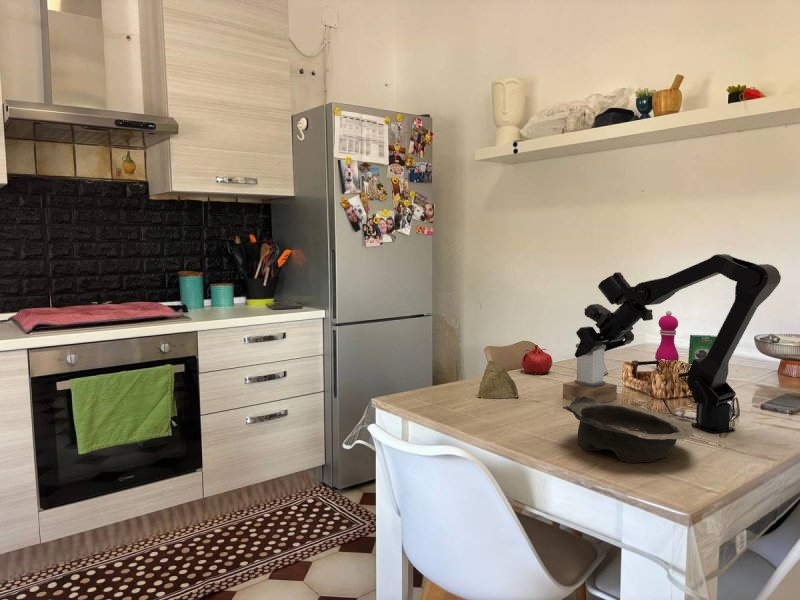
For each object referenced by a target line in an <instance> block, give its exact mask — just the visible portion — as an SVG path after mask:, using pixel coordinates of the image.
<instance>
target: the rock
mask: <svg viewBox="0 0 800 600" xmlns="http://www.w3.org/2000/svg"><path fill="white" fill-rule="evenodd" d="M478 389H479V391H478V393H477V398H478V397H483V399H490V398H491V399H508V398H510V399H511V398H513V399H514V398H519V397H520V396H519V390H518V387H517V385H516V383H515V381H514V380H513V378H512V377H511V375H510V374H509V373H508V372H507V370H506V368H505V367H503V366H502V365H501V364H499V362H497V361H495V360H489V361H488V362H487V365H486V368H485V369H484V373H483V376H482V379H481V381H480V384H479V388H478Z"/></svg>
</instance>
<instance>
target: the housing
mask: <svg viewBox="0 0 800 600" xmlns="http://www.w3.org/2000/svg"><path fill="white" fill-rule="evenodd" d="M578 346H579V343H575V348H576V349H577V348H578ZM604 349H606V345H602V346H601V347H600V348H598V349H597V351H594V352H591V353H589V354H586V355H584V356H581V357H578V358H576V379H575V380H574V381H575V384H579V385H583V386H588V387H592V388H595V387H599V386H603V385H605V383H606V381H605V380H604V376H605V375H604V363H605V352H604Z"/></svg>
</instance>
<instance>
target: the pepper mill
mask: <svg viewBox="0 0 800 600" xmlns="http://www.w3.org/2000/svg"><path fill="white" fill-rule="evenodd" d="M672 313H673V312H672V311H671V310H667V311H666V312H665V315H663V316H661V317H660V318H659V320H658V323H657V324H658V327H659V328H660V330H659V335H660V338H661V339H660V344H659V346H658V347H657V349H656V351H655V355H654V358H655V361H657V360H661V359H665V360H677V361H680V357H679V356H680V355H679V352H678V350H677V346H676V344H675V335H677V330H676V329H678V327H679V320H678V319H677V317H675V316H673V315H672Z"/></svg>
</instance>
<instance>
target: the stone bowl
mask: <svg viewBox="0 0 800 600" xmlns="http://www.w3.org/2000/svg"><path fill="white" fill-rule="evenodd" d="M562 408H563V409H564V410H566V411H568V412H570V413H571V414H573V416H574V418H575V419H576V420H578V421H579V423H578V429H577V434H576V436H577V437H576V438H577V443H578V446H580V447H581V448H582V449H584V450H587V451H588V450H589V451H595V452H596V451H602V450H611V451H613V452H614V453H615V455H616V457H617V458H618V459H619V460H620V461H622V462H627V463H630V464H639V463H641V462H644V463H647V464H649V463H653V462H656V461H657V460H660V459H663V458H664V459H665V458H667V457H668V455H669V454H670V452H671V451H672V450H673V448H674V447H675V445H676V444H677V441H678V440H679V441H680V440H681V441H682V440H685V439H689V438H693V437H694V438H695V435H694V434H695V430H694V429H693V427H692V425H690V424H688V423H687V422H684V421H680V420H678V418H675V417H673V416H671V415H667V414H664V413H660V412H657V411H654V410H653V411H652V410H650V409H646V408H645V407H639V406H634V405H630V404H622V403H611V402H610V403H609V402H606V403H599V402H597V401H595V400H593V399H592V398H587V397H585V396H584V397H581V398H576V399H575V401H574V400H572V402H571V403H570V404H569V406H568V405H566V406H562Z"/></svg>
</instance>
